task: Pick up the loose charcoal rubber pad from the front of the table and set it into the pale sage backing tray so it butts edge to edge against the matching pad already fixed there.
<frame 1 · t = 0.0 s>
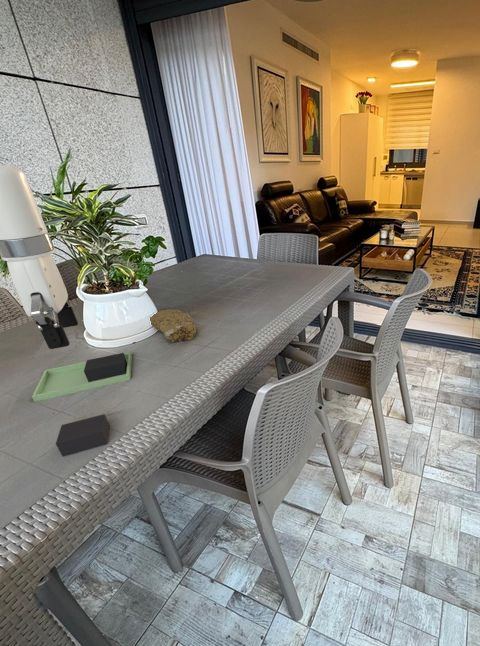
hand: (65, 336, 68), 22 cm above the table, tool pointing down, fingers open, 9 cm apart
pad b: (87, 440, 73), on the table
backing tray: (88, 378, 94), on the table
pad a: (108, 372, 96), resting on backing tray
sponge: (174, 333, 117), on the table
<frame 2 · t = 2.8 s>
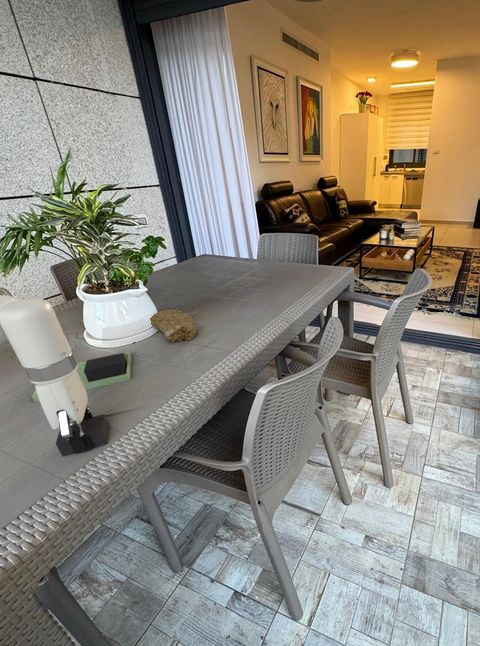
hand: (86, 438, 73), 1 cm above the table, tool pointing down, fingers closed on pad b, 6 cm apart
pad b: (87, 440, 73), on the table, touching gripper
everything else where it was.
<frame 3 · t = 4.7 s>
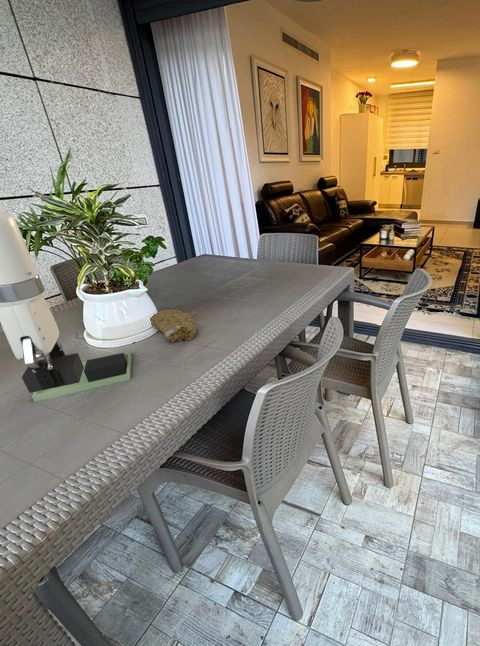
hand: (57, 377, 68), 15 cm above the table, tool pointing down, fingers closed on pad b, 6 cm apart
pad b: (58, 379, 68), point 14 cm above the table, touching gripper
everything else where it was.
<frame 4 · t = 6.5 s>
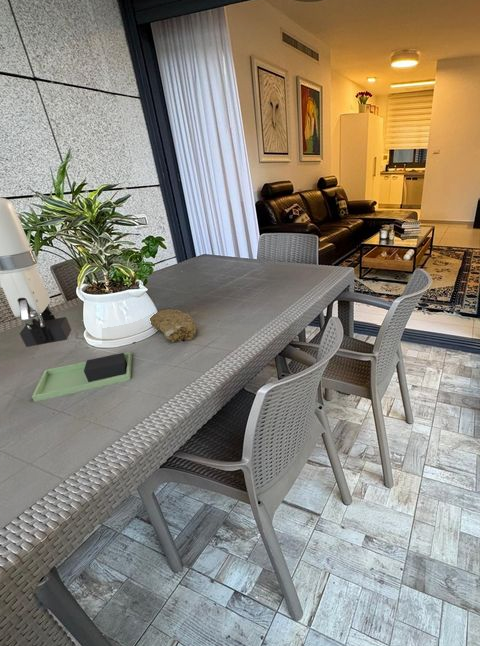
hand: (48, 335, 83), 15 cm above the table, tool pointing down, fingers closed on pad b, 6 cm apart
pad b: (49, 338, 83), point 15 cm above the table, touching gripper
everything else where it was.
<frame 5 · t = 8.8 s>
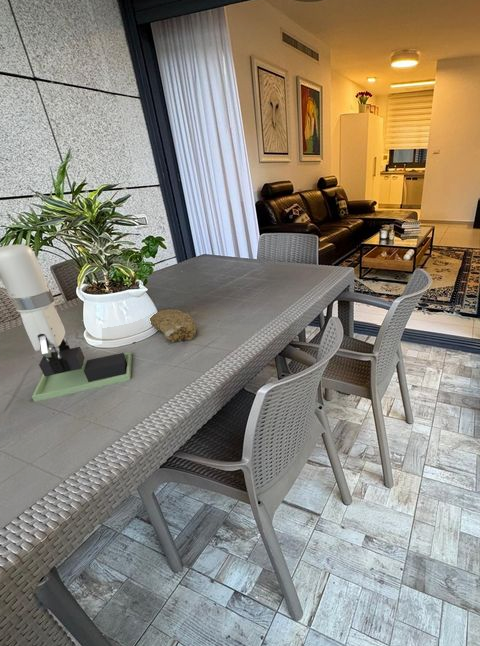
hand: (64, 365, 90), 5 cm above the table, tool pointing down, fingers closed on pad b, 6 cm apart
pad b: (65, 366, 91), point 5 cm above the table, touching gripper
everything else where it was.
when the fingers open (1 cm above the table, at t = 10.4 s): pad b stays where it is, resting on backing tray.
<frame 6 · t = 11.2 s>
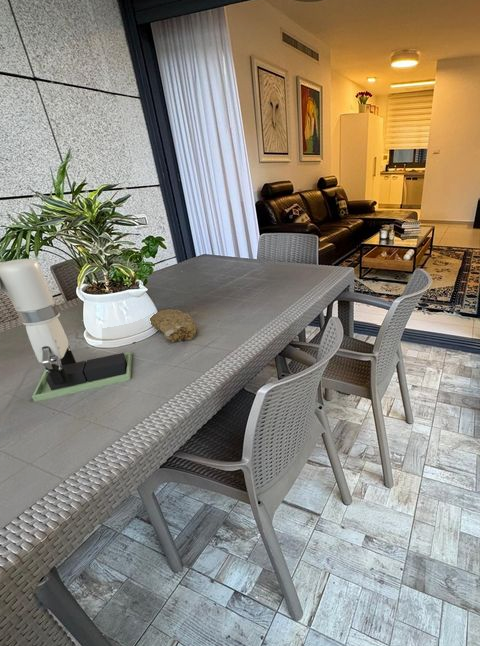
hand: (66, 373, 91), 3 cm above the table, tool pointing down, fingers open, 9 cm apart
pad b: (71, 380, 93), point 1 cm above the table, touching backing tray
everything else where it was.
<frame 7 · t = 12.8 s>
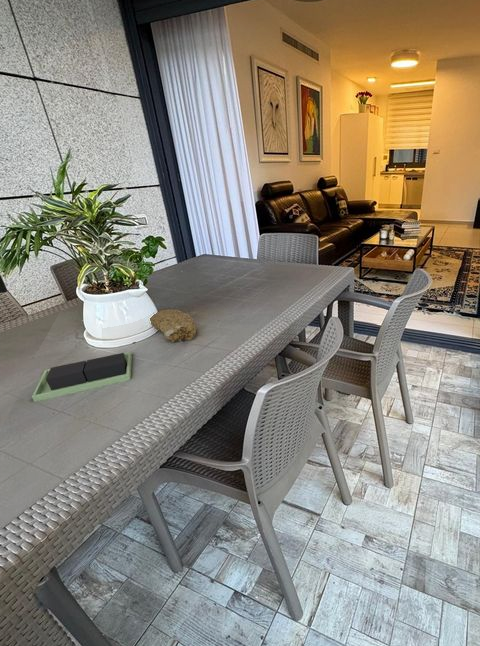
nothing on the table moved.
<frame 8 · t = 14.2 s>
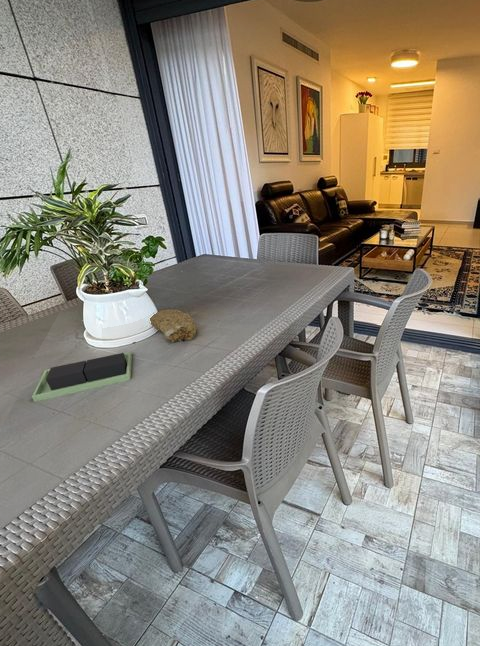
nothing on the table moved.
at the end: pad b 1.0 cm from the target spot in the backing tray, point 0.6 cm above the backing tray's base; pad b 8.8 cm from the pad a (horizontally); pad b tilted 0° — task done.
